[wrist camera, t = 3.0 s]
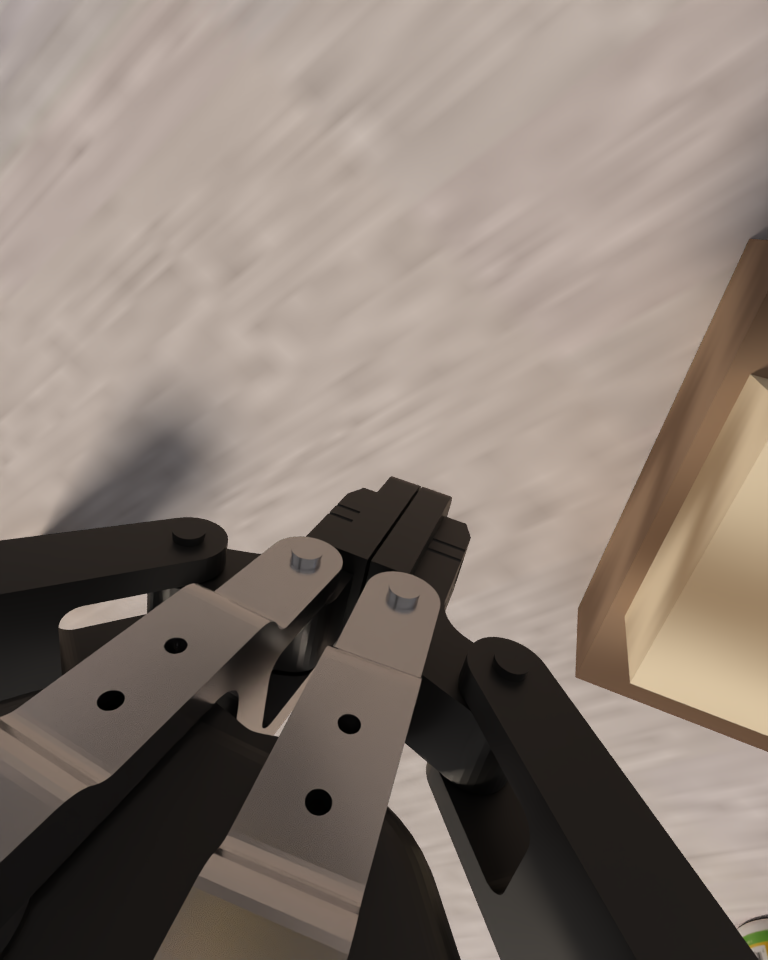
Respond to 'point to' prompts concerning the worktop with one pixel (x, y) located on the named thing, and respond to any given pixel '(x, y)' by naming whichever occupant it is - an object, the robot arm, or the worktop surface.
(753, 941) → the supplement bottle
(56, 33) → the worktop surface
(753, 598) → the birch block
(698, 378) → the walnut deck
